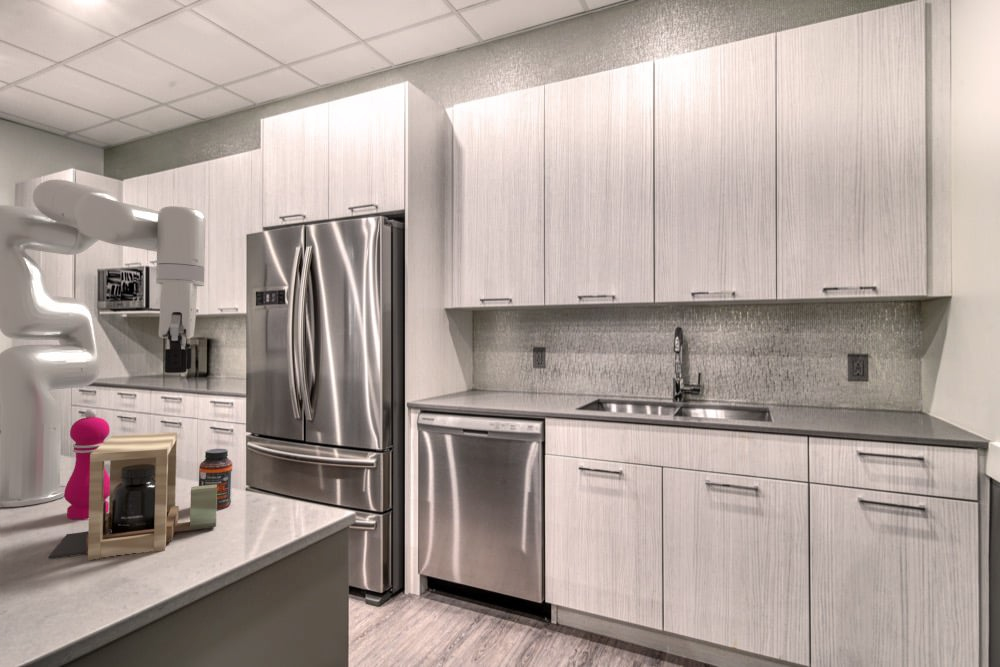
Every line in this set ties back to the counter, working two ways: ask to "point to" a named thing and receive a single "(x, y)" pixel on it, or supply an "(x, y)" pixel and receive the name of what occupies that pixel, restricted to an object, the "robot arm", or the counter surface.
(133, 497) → the supplement bottle
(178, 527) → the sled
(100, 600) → the counter surface
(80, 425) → the pepper mill
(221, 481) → the supplement bottle
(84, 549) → the mat
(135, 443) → the tunnel
